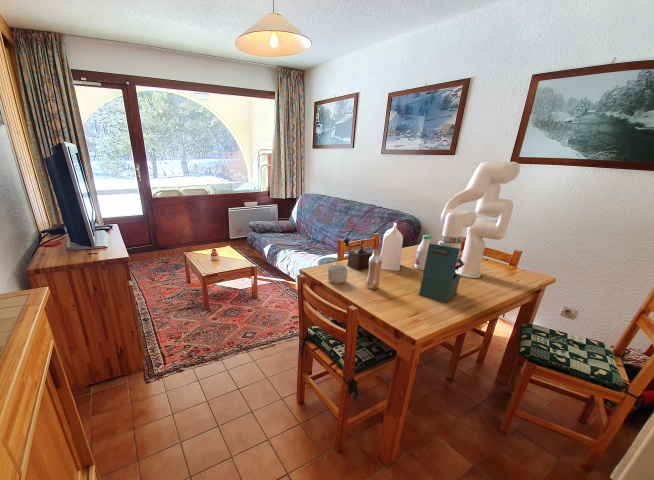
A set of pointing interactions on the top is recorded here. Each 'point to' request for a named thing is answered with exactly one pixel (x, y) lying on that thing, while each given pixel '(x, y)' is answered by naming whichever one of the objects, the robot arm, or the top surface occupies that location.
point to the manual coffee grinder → (358, 256)
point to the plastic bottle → (374, 269)
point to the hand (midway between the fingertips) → (442, 275)
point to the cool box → (439, 288)
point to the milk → (392, 249)
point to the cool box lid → (441, 262)
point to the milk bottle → (422, 252)
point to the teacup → (337, 273)
